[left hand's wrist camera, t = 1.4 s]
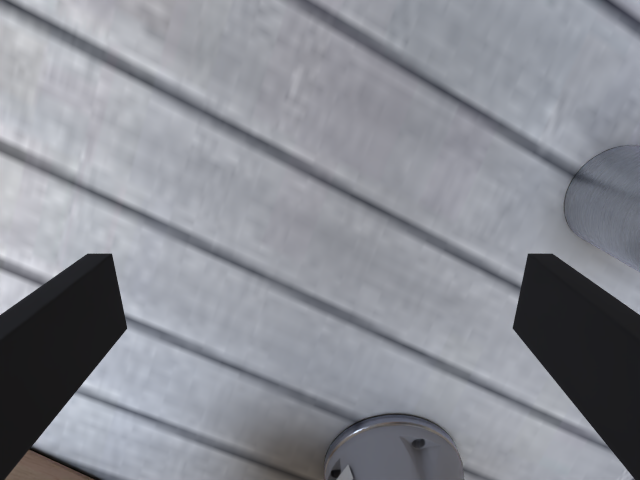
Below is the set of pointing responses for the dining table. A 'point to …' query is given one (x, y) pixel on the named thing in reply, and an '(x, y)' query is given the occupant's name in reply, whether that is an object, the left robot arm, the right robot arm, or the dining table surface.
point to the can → (608, 203)
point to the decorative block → (42, 469)
